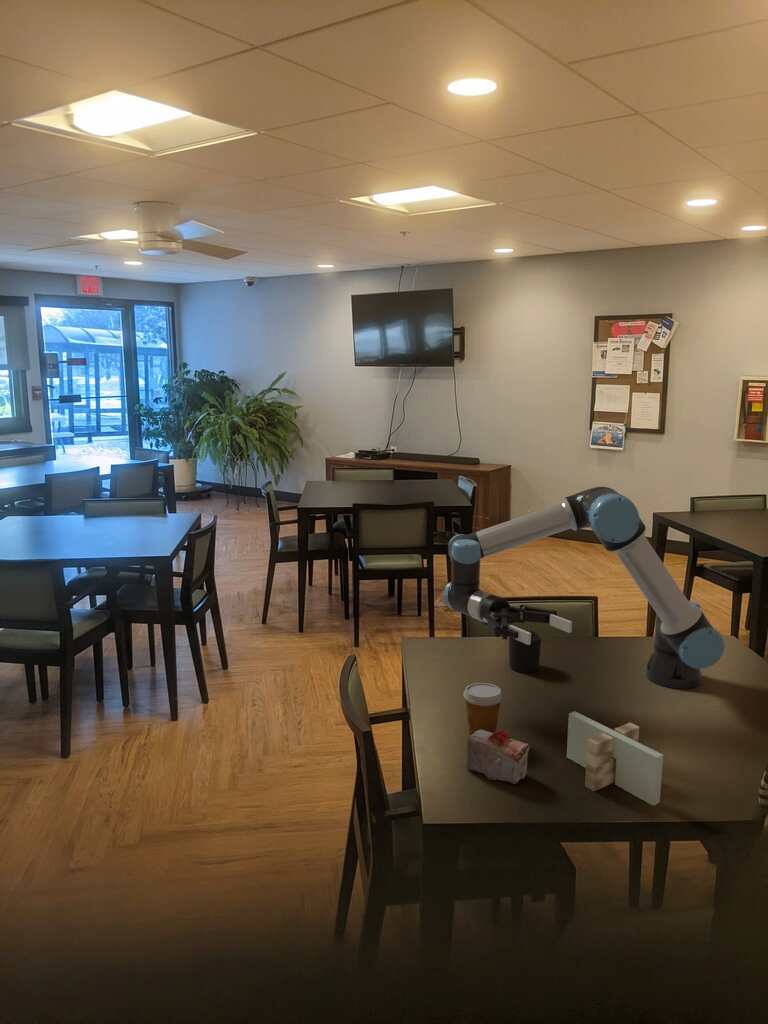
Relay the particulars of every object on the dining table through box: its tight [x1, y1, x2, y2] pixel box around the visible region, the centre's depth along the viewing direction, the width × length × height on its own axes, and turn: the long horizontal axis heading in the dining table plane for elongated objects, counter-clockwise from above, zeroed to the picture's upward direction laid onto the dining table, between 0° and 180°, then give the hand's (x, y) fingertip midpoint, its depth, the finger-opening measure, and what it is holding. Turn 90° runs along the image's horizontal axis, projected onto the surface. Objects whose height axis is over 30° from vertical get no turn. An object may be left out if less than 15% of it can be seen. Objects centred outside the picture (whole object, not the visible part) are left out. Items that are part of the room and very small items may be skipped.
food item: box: [466, 730, 531, 785], centre depth 173 cm, size 14×8×10 cm, turn 56°
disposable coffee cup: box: [463, 682, 504, 737], centre depth 190 cm, size 10×10×12 cm
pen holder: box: [508, 629, 542, 674], centre depth 231 cm, size 9×9×10 cm
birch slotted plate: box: [584, 722, 640, 792], centre depth 170 cm, size 14×2×11 cm, turn 124°
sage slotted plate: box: [566, 711, 664, 807], centre depth 171 cm, size 24×2×11 cm, turn 34°
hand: (550, 633), depth 182 cm, fingers open, 13 cm apart
